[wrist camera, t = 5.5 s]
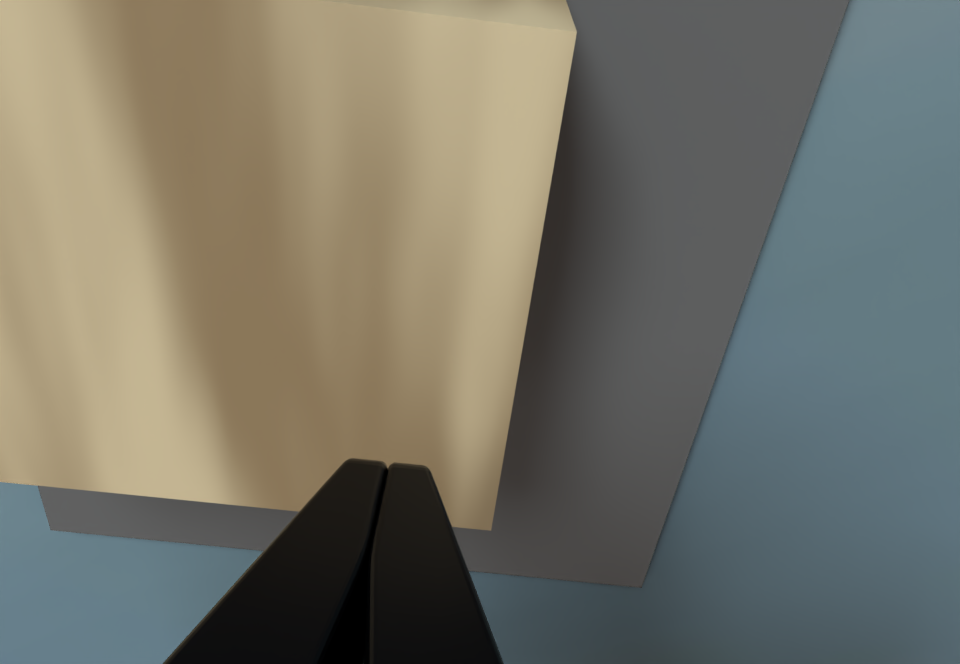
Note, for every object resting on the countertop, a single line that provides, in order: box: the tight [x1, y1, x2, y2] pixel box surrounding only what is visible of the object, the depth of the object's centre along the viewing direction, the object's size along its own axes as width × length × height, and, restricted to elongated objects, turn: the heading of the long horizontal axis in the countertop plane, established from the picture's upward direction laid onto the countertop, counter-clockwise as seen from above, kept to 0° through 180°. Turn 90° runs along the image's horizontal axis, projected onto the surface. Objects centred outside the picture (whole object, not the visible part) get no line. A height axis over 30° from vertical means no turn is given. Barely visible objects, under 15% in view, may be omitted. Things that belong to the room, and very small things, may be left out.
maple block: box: [0, 0, 577, 531], centre depth 12 cm, size 4×8×10 cm
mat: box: [38, 0, 849, 588], centre depth 14 cm, size 15×20×1 cm
